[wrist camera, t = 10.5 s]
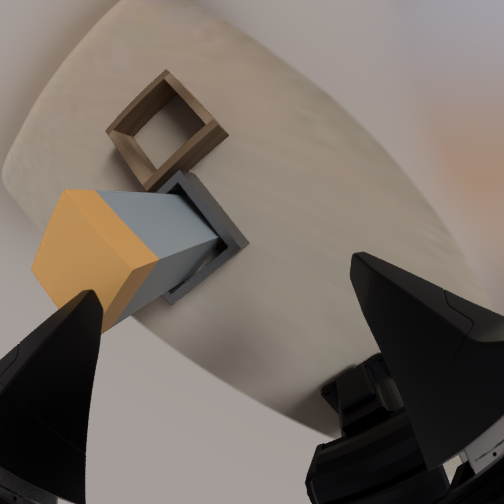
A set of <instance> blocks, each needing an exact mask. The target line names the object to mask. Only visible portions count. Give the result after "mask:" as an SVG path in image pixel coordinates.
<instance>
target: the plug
mask: <svg viewBox="0 0 504 504" xmlns="http://www.w3.org/2000/svg"><path fill="white" fill-rule="evenodd" d="M222 240H223V239H222V238H221V237H220V235H219V234H218V233H217V232H216V230H215V229H214V228H213V226H212V225H211V224H210V223H209V221H208V220H207V219H206V217H205V216H204V215H203V214H202V212H201V211H200V210H199V208H198V207H197V206H196V205H195V203H194V202H193V201H192V200H191V199H190V198H189V197H188V196H185V195H172V194H158V193H143V192H125V191H103V190H69V189H64V191H63V193H62V195H61V197H60V199H59V201H58V203H57V205H56V207H55V210H54V212H53V214H52V216H51V219H50V221H49V223H48V226H47V228H46V230H45V233H44V235H43V238H42V241H41V243H40V246H39V248H38V251H37V254H36V257H35V260H34V263H33V265H32V268H31V270H32V272H33V273H34V275H35V276H36V278H37V279H38V281H39V282H40V284H41V285H42V287H43V288H44V289H45V291H46V292H47V294H48V295H49V296H50V298H51V299H52V301H53V302H54V303H55V305H56V306H57V307H58V309H60V308H61V307H62V306H64V305H65V304H66V303H67V302H69V301H70V300H71V299H72V298H74V297H75V296H76V295H78V294H79V293H80V292H81V291H83V290H89V289H92V290H94V291H95V292H96V294H97V296H98V298H99V301H100V303H101V305H102V307H103V311H104V313H103V321H102V330H101V334H102V333H104V332H105V331H107V330H108V329H110V328H112V327H113V326H115V325H116V324H118V323H119V322H121V321H122V320H124V319H125V318H127V317H128V316H130V315H131V314H133V313H135V312H136V311H138V310H139V309H141V308H142V307H144V306H145V305H147V304H148V303H150V302H151V301H153V300H155V299H156V298H158V297H159V296H161V295H162V294H164V293H165V292H167V291H169V290H170V289H172V288H173V287H175V286H176V285H178V284H179V283H181V282H183V281H184V280H186V279H187V278H189V277H190V276H192V275H193V274H194V273H195V272H196V271H197V270H198V268H199V267H200V266H201V265H202V264H203V262H204V261H205V260H206V259H207V258H208V257H209V255H210V254H211V253H212V252H213V251H214V249H215V248H216V247H217V246H218V245H219V244H220V242H221V241H222Z"/></svg>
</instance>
